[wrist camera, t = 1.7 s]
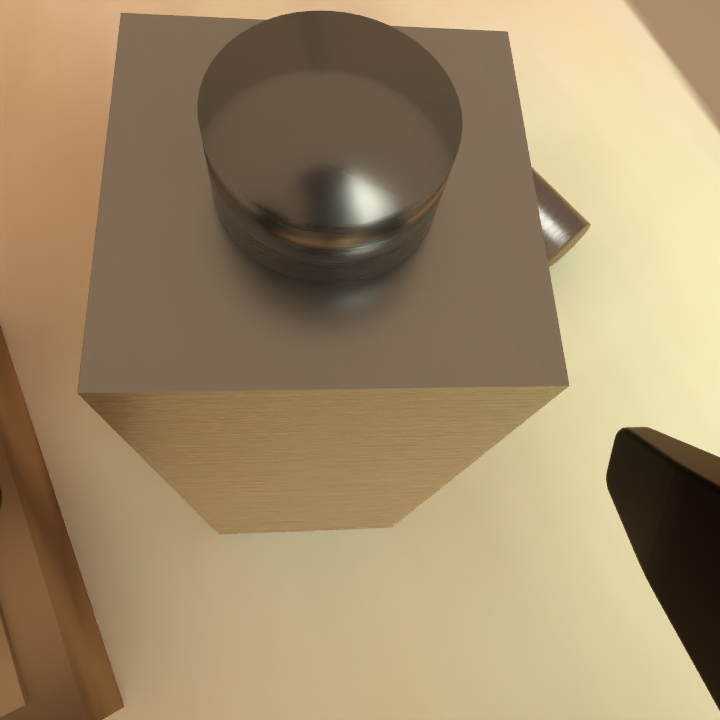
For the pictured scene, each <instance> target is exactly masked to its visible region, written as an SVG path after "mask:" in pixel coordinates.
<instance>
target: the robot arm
mask: <svg viewBox="0 0 720 720" xmlns="http://www.w3.org/2000/svg"><path fill="white" fill-rule="evenodd" d="M606 481H607V487H608V490H609V493H610V495H611V498H612V500H613V502H614V505H615V507H616V510H617V512H618V514H619V517H620V519H621V521H622V524H623V526H624V528H625V531H626V533H627V536H628V538H629V540H630V543H631V545H632V547H633V550H634V552H635V554H636V557H637V559H638V561H639V564H640V566H641V568H642V570H643V572H644V574H645V576H646V578H647V580H648V582H649V584H650V586H651V588H652V590H653V592H654V593H655V595H656V597H657V599H658V601H659V602H660V604H661V606H662V608H663V610H664V611H665V613H666V615H667V617H668V619H669V620H670V622H671V624H672V626H673V628H674V629H675V631H676V633H677V635H678V637H679V638H680V640H681V642H682V644H683V646H684V647H685V649H686V651H687V653H688V655H689V656H690V658H691V660H692V662H693V664H694V665H695V667H696V669H697V671H698V673H699V674H700V676H701V678H702V680H703V682H704V683H705V685H706V687H707V689H708V691H709V692H710V694H711V696H712V698H713V700H714V701H715V703H716V705H717V707H718V709H719V710H720V457H718V456H715V455H713V454H711V453H708V452H706V451H703V450H701V449H699V448H696V447H694V446H692V445H689V444H687V443H684V442H682V441H680V440H677V439H675V438H672V437H670V436H668V435H665V434H663V433H660V432H658V431H656V430H653V429H651V428H648V427H626V428H622V429H621V430H619V431H618V432H617V434H616V437H615V440H614V444H613V448H612V452H611V457H610V461H609V465H608V469H607V475H606ZM1 506H2V489H1V485H0V510H1Z"/></svg>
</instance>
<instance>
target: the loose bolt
mask: <svg viewBox="0 0 720 720" xmlns="http://www.w3.org/2000/svg"><path fill="white" fill-rule="evenodd" d="M531 169H532V174H533V180H534V186H535V192H536V197H537V203H538V209H539V215H540V220H541V226H542V232H543V238H544V243H545V249H546V255H547V261H548V266H549V267H550V266H551V265H553V264H554V263H555V262H556V261H558V260H559V259H560V258H561V257H562V256H563V255H564V254H566V253H567V252H568V251H569V250H570V249H571V248H572V247H573V246H574V245H575V244H576V243H577V242H578V241H579V240H580V239H581V238H582V236H583V235H584V234H585V233H586V232H587V230H588V229H589V227H590V223H589V222H588V221H587V220H586V219H585V218H584V217H583V216H581V215H580V214H579V213H578V212H577V211H576V210H575V209H574V208H573V207H572V206H571V205H570V204H569V203H568V202H567V201H566V200H565V199H564V198H563V197H562V196H561V195H560V194H559V193H558V192H557V191H556V190H555V189H554V188H553V187H552V186H551V185H549V184H548V183H547V182H546V181H545V180H544V179H543V178H542V177H541V176H540V175H539V174H538V173H537V172H536V171H535V170H534V169H533V168H532V167H531Z"/></svg>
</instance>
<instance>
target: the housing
mask: <svg viewBox="0 0 720 720" xmlns="http://www.w3.org/2000/svg"><path fill="white" fill-rule="evenodd" d="M568 386H569V381H568V376H567V370H566V364H565V358H564V353H563V347H562V341H561V335H560V330H559V324H558V318H557V312H556V307H555V301H554V295H553V289H552V284H551V278H550V272H549V266H548V261H547V255H546V249H545V243H544V238H543V232H542V226H541V220H540V215H539V209H538V203H537V197H536V192H535V186H534V180H533V174H532V169H531V163H530V157H529V151H528V145H527V140H526V134H525V128H524V122H523V117H522V111H521V105H520V99H519V94H518V88H517V82H516V76H515V71H514V65H513V59H512V53H511V48H510V42H509V36H508V32H504V31H483V30H463V29H442V28H421V27H401V26H389V25H387V24H384V23H382V22H379V21H377V20H374V19H370V18H367V17H364V16H360V15H355V14H350V13H345V12H335V11H305V12H296V13H291V14H286V15H281V16H278V17H275V18H271V19H268V20H256V19H235V18H214V17H193V16H173V15H152V14H131V13H121V18H120V27H119V35H118V44H117V53H116V61H115V70H114V79H113V88H112V96H111V105H110V114H109V122H108V131H107V140H106V149H105V157H104V166H103V175H102V184H101V192H100V201H99V210H98V218H97V227H96V236H95V245H94V253H93V262H92V271H91V280H90V288H89V297H88V306H87V314H86V323H85V332H84V341H83V349H82V358H81V367H80V375H79V384H78V394H79V395H80V396H81V397H82V398H83V399H84V400H85V401H86V402H87V403H88V404H89V405H90V406H91V407H92V408H93V409H94V410H95V411H96V412H97V413H98V414H99V415H100V416H101V417H102V418H103V419H104V420H105V421H106V422H107V423H108V424H109V425H110V426H111V427H112V428H113V429H114V430H115V431H116V432H117V433H118V434H119V435H120V436H121V437H122V438H123V439H124V440H125V441H126V442H127V443H128V444H129V445H130V446H131V447H132V448H133V449H134V450H135V451H136V452H137V453H138V454H139V455H140V456H141V457H142V458H143V459H144V460H145V461H146V462H147V463H148V464H149V465H150V466H151V467H152V468H153V469H154V470H155V471H156V472H157V473H158V474H159V475H160V476H161V477H162V478H163V479H164V480H165V481H166V482H167V483H168V484H169V485H170V486H171V487H172V488H173V489H174V490H175V491H176V492H177V493H178V494H179V495H180V496H181V497H182V498H183V499H185V500H186V501H187V502H188V503H189V504H190V505H191V506H192V507H193V508H194V509H195V510H196V511H197V512H198V513H199V514H200V515H201V516H202V517H203V518H204V519H205V520H206V521H207V522H208V523H209V524H210V525H211V526H212V527H213V528H214V529H215V530H216V531H217V532H218V533H219V534H230V533H255V532H281V531H307V530H333V529H359V528H384V527H393V526H394V525H395V524H396V523H398V522H399V521H400V520H401V519H403V518H404V517H405V516H406V515H408V514H409V513H410V512H411V511H413V510H414V509H415V508H416V507H418V506H419V505H420V504H421V503H423V502H424V501H425V500H426V499H428V498H429V497H430V496H431V495H433V494H434V493H435V492H436V491H438V490H439V489H440V488H442V487H443V486H444V485H445V484H447V483H448V482H449V481H450V480H452V479H453V478H454V477H455V476H457V475H458V474H459V473H460V472H462V471H463V470H464V469H465V468H467V467H468V466H469V465H470V464H472V463H473V462H474V461H475V460H477V459H478V458H479V457H480V456H482V455H483V454H484V453H485V452H487V451H488V450H489V449H490V448H492V447H493V446H494V445H496V444H497V443H498V442H499V441H501V440H502V439H503V438H504V437H506V436H507V435H508V434H509V433H511V432H512V431H513V430H514V429H516V428H517V427H518V426H519V425H521V424H522V423H523V422H524V421H526V420H527V419H528V418H529V417H531V416H532V415H533V414H534V413H536V412H537V411H538V410H539V409H541V408H542V407H543V406H545V405H546V404H547V403H548V402H550V401H551V400H552V399H553V398H555V397H556V396H557V395H558V394H560V393H561V392H562V391H563V390H565V389H566V388H567V387H568Z"/></svg>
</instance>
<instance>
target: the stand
mask: <svg viewBox="0 0 720 720" xmlns="http://www.w3.org/2000/svg"><path fill="white" fill-rule="evenodd" d="M0 485H1V489H2V506H1V510H0V720H102V719H104V718H105V717H107V716H109V715H110V714H112V713H114V712H116V711H117V710H119V709H121V708H122V707H124V706H123V703H122V700H121V697H120V694H119V691H118V687H117V684H116V681H115V678H114V675H113V672H112V669H111V666H110V663H109V660H108V657H107V654H106V650H105V647H104V644H103V641H102V638H101V635H100V632H99V629H98V626H97V623H96V620H95V617H94V613H93V610H92V607H91V604H90V601H89V598H88V595H87V592H86V589H85V586H84V583H83V580H82V576H81V573H80V570H79V567H78V564H77V561H76V558H75V555H74V552H73V549H72V546H71V543H70V539H69V536H68V533H67V530H66V527H65V524H64V521H63V518H62V515H61V512H60V509H59V506H58V502H57V499H56V496H55V493H54V490H53V487H52V484H51V481H50V478H49V475H48V472H47V469H46V465H45V462H44V459H43V456H42V453H41V450H40V447H39V444H38V441H37V438H36V435H35V431H34V428H33V425H32V422H31V419H30V416H29V413H28V410H27V407H26V404H25V401H24V398H23V394H22V391H21V388H20V385H19V382H18V379H17V376H16V373H15V370H14V367H13V364H12V361H11V357H10V354H9V351H8V348H7V345H6V342H5V339H4V336H3V333H2V330H1V327H0Z"/></svg>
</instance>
